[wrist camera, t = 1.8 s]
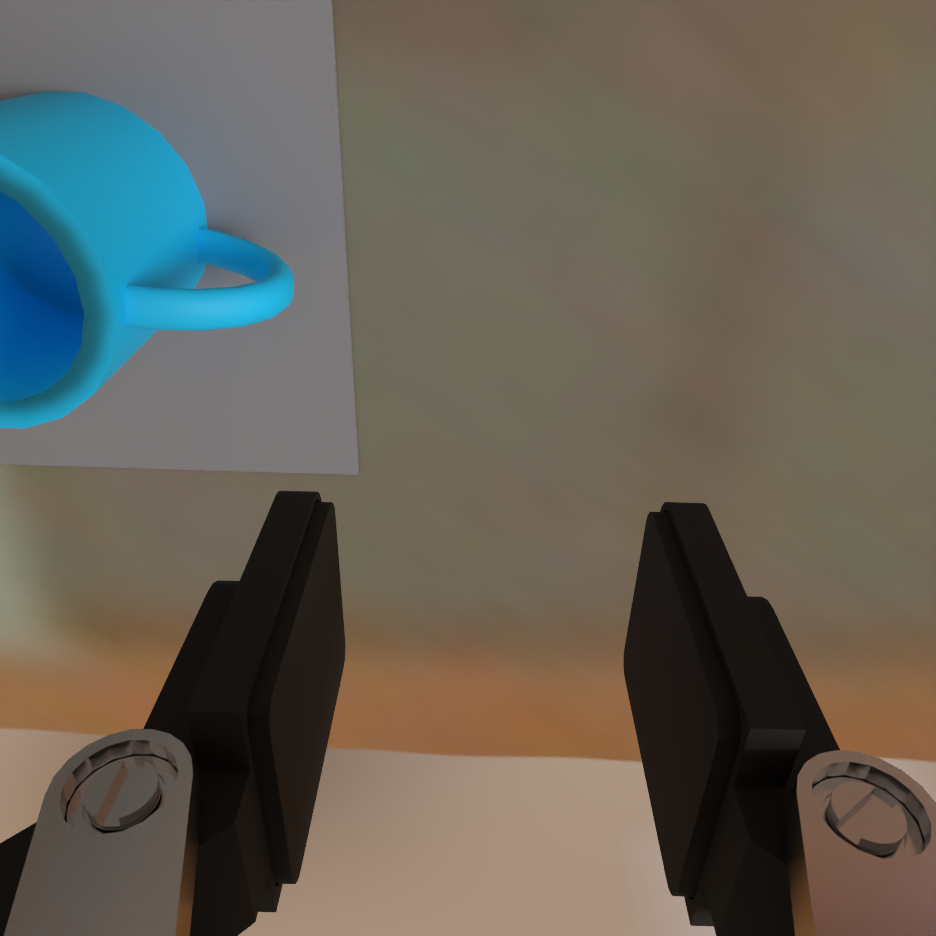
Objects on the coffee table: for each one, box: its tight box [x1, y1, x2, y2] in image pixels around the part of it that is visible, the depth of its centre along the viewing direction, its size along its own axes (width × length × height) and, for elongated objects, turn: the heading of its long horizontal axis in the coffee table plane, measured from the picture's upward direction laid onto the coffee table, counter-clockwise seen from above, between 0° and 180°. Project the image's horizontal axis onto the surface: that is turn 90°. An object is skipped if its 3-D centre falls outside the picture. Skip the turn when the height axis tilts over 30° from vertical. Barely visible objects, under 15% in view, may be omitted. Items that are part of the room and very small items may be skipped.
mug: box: [0, 92, 294, 429], centre depth 24 cm, size 12×8×8 cm
